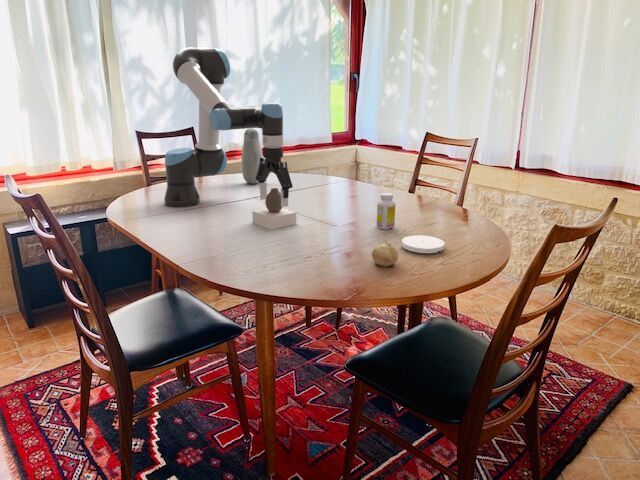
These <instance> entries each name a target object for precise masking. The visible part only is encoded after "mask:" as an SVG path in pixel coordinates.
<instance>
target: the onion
mask: <svg viewBox="0 0 640 480" xmlns="http://www.w3.org/2000/svg"><path fill="white" fill-rule="evenodd" d="M384 241H385V243H381V244H378V245H377V246H375V247H374V248H373V250H372V252H371V257H372V260H373V262H374V264H375V265H376V264H377V266H378V265H379V266H378V267H383V266H385V268H387V267H386V266H389V267H390V266H391V265H392V266H393V265H395V264H396V263H397V261H398V260H399V252H398V250H397V248H396V247H395V246H394V245H393V244H392V242H390V241H387V240H384Z"/></svg>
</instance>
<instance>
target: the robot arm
mask: <svg viewBox="0 0 640 480" xmlns="http://www.w3.org/2000/svg"><path fill="white" fill-rule="evenodd" d="M172 69H173V72H174V75H175V76H176V79H178V81H179V82H180V83H182V84H183V85H184V84H185V85H186V87H187V88H188V89H189V90H190V92H192V94H193V95H194V96H195V98H196V99H197V100H198V101H199V102H198V141H197V142H196V144H194V150H193V148H191V147H180V148H174V149H170V150H169V151H167V152H166V153H165V156H164V166H165V176H166V190H165V194H164V199H163V200H164V201H163V202H164V205H166V206H169V207H174V208H175V207H176V208H177V207H179V208H180V207H181V208H182V207H191V206H195V205H198V204H200V202H201V198H200V195H199V192H198V190H197V187H196V183H195V178H202V177H207V176H215V175H220V174H222V173H223V172H225V170H226V168H227V165H228V157H227V153H226V151H225V149H223V146H222V145H221V143H220V141H219V139H220V138H219V137H220V131H231V130H244V129H246V130H247V129H261V133H262V146H263V147H262V158H260V164H259V168H258V171H257V175H256V180H258V183H259V200H261V201H263V200H264V201H265V200H266V197H267V195H268V188H267V187H268V185H267V179H268V177H269V176H270V174H271V173H273V174H274V175H275V176H276V178H277V180H278V182H279V184H280V186H281V188H280V193H281V207H283V208H285V207H289V194H290V193H289V191H290V189H292V188H293V187H294V186H293V183H292V180H291V177H290V173H289V169H288V162H287V161H282V158H283V157H284V147H283V146H284V124H283V123H284V119H283V118H284V113H283V105H282V104H281V103H279V102H264V103H262V104H261V107H259V106H256V105H255V106H247V107H232V106H230V104H228V102H227V101H226V100H225V99H224V98H223V96H222V95H221V87H222V86H223V85H224V84H225V79H228V78H229V76H230V72H231V63H230V59H229V57H228V55H227V54H226V52H225V51H224V50H222V49H221V48H215V47H185V48H182V49H180V50H179V51H178V52H177V53H176V54H175V56H174V58H173V62H172ZM259 176H260V177H259Z"/></svg>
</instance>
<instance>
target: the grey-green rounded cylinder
mask: <svg viewBox="0 0 640 480" xmlns="http://www.w3.org/2000/svg"><path fill="white" fill-rule="evenodd" d="M260 158H263V149H262V147H261V142H260V135H259V132H258V130H257V129H256V128H246V130H245V131H244V133H243V144H242V147H241V168H242V169H241V170H242V177H243V179H244V182H246V183H247V184H251V185H253V184H254V185H255V184H258V183H259V182H258V180H256V175H257V171H258V168H259V164H260ZM259 177H260V176H259Z"/></svg>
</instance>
